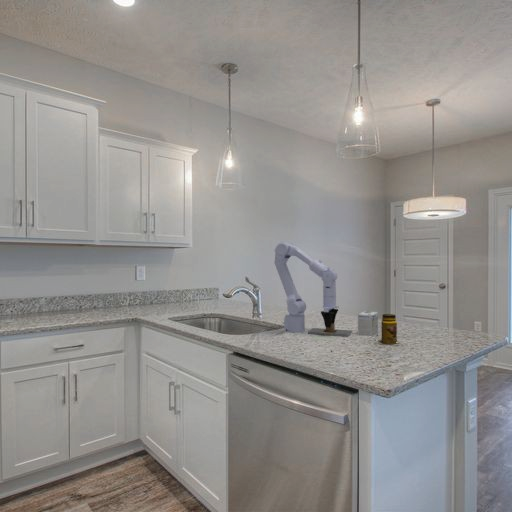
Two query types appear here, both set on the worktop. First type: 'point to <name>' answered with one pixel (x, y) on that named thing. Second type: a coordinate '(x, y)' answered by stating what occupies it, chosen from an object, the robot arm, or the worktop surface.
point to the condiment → (388, 330)
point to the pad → (324, 338)
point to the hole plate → (323, 332)
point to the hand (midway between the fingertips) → (329, 326)
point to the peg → (331, 328)
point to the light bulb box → (368, 323)
